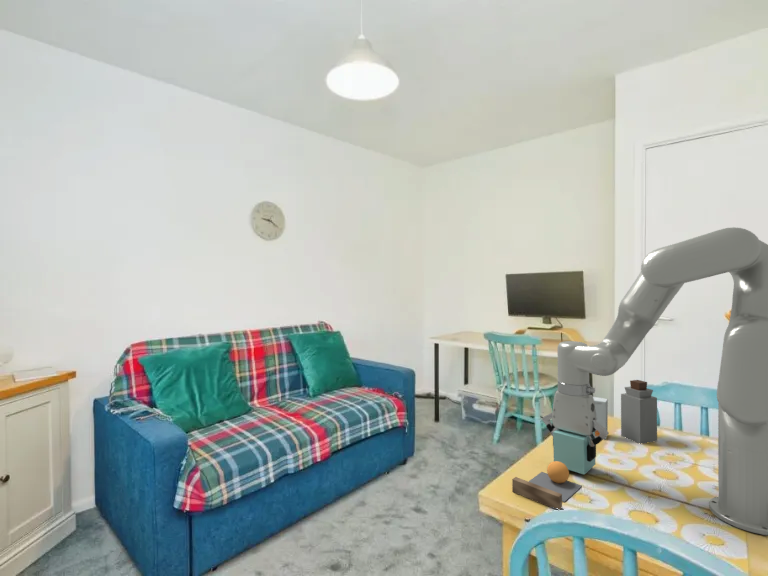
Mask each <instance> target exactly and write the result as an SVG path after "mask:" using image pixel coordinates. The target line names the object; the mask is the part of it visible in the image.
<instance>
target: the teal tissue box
mask: <svg viewBox="0 0 768 576" xmlns="http://www.w3.org/2000/svg"><path fill="white" fill-rule="evenodd" d="M593 434H594V435H595V432H593ZM588 445H589V443H588V442H587V437H585V436H583V435H579V434H575V433H571V432H567V431H563V430H556V431H554V432H553V436H552V448H553V462H554V461H559V462H562V463H563V464H565V465H566V467H567V468H568V470H569V471H571V472H575V473H578V474H581V475H586V474H587V473H588V472H589V471H590V470H591V469H592V468H593V467H595V465H596V457H595V458H594V459H593V460H592V461H591V462H589V461H587V446H588Z"/></svg>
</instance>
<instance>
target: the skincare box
mask: <svg viewBox="0 0 768 576" xmlns="http://www.w3.org/2000/svg"><path fill="white" fill-rule="evenodd" d="M593 399H594V403H595V409H596V418H597V422H598V423H599V424H600V425H601V426H602V427H603V428H605V429H606V430H607V431H608V424H609V422H608V421H609V419H608V412H609V410H608V407H609V405H608V404H609V403H608V401H609V399H608V398H604V397H597V396H593ZM599 435H600V433H599V432H598V431H596V432H595V437H598V436H599ZM607 437H608V435H607V436H606V437H605V438H604V439H603V440H604V441H605V440H607Z"/></svg>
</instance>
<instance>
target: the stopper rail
mask: <svg viewBox="0 0 768 576" xmlns="http://www.w3.org/2000/svg"><path fill="white" fill-rule="evenodd" d="M511 481H512V483H511V486H512V488H511V489H512V492H513V493H514V494H516V495H520V496H523V497H525V498H527V499H530V500H531V501H534V502H537V503H539V504H542V505H544V506H546V507H549V508H551V507H554V508H558V509H560V510H561V509H562V508H563V502H562V494H560V493H557V492H555V491H552V490H549V489H547V488H544V487H541V486H539V485H536V484H533V483H531V482H528V481H529V480H525V479H523V478H519V477H517V476H515V477H513V478H512V480H511ZM561 507H562V508H561ZM554 508H553V509H554Z"/></svg>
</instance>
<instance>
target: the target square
mask: <svg viewBox="0 0 768 576" xmlns="http://www.w3.org/2000/svg"><path fill="white" fill-rule="evenodd" d="M527 481H528V482H531V483H533V484H536V485H539V486H541V487H544V488H547V489H549V490H552V491H555V492H557V493H560V494H562V501H563V502H562V503H565V501H566V500H567V499H568V498H569V499H570V498H571V497H572V496H573V495H574V494H576V493H577V490H578V489H579V488H580V489H582V487H581V486H582V485H581V484H579V483H575V482H573V481H571V480H567V481H566V482H564V483H556V482H554V481H552V480H551V479H550V477H549V476H548V473H547V472H543V471H541V472H539V473H538V474H537V475H535V476H534V477H532V478H531V479H530V480H527ZM580 489H579V490H580ZM579 490H578V491H579ZM569 499H568V500H569ZM568 500H567V501H568ZM567 501H566V502H567Z"/></svg>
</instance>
